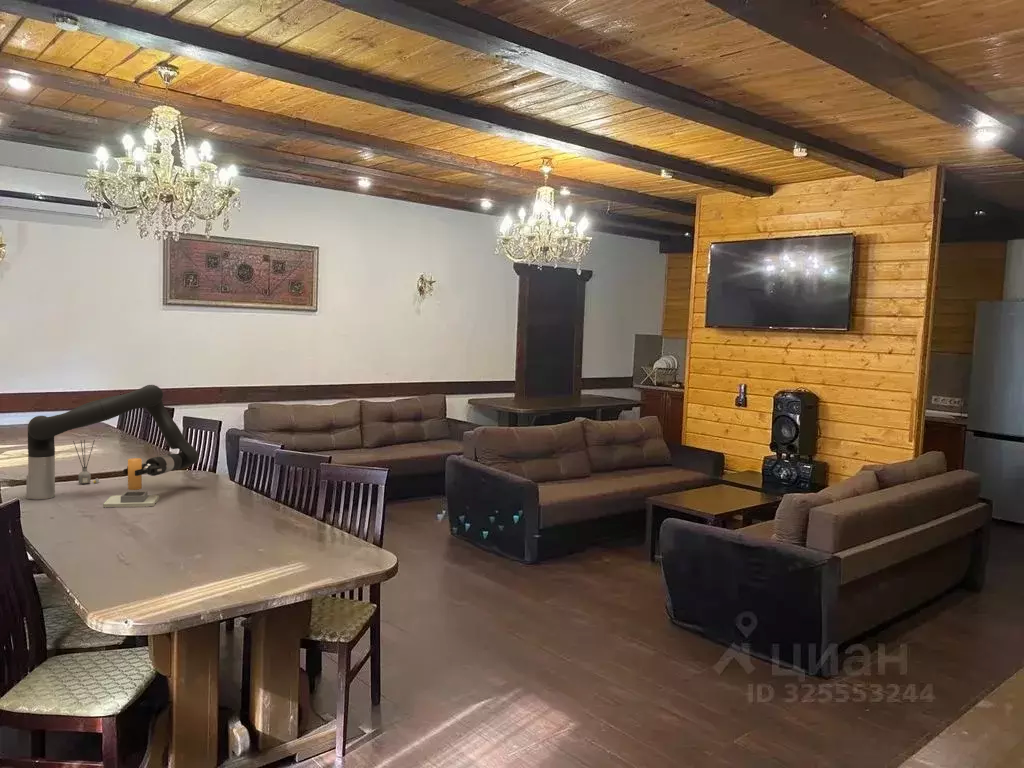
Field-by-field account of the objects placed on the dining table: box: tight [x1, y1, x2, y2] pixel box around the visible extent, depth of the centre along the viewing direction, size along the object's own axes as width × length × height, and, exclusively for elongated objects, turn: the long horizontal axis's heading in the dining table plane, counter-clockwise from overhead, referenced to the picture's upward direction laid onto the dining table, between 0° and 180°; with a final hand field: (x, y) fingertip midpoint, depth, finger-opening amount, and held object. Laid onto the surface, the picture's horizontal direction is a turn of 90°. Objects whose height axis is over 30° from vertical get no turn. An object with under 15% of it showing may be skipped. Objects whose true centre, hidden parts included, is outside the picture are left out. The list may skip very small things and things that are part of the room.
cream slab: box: [102, 490, 160, 509], centre depth 304 cm, size 18×14×4 cm
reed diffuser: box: [72, 439, 100, 484], centre depth 334 cm, size 10×7×20 cm
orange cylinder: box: [127, 457, 143, 491], centre depth 303 cm, size 5×5×12 cm
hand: (130, 472), depth 300 cm, fingers closed on orange cylinder, 5 cm apart
